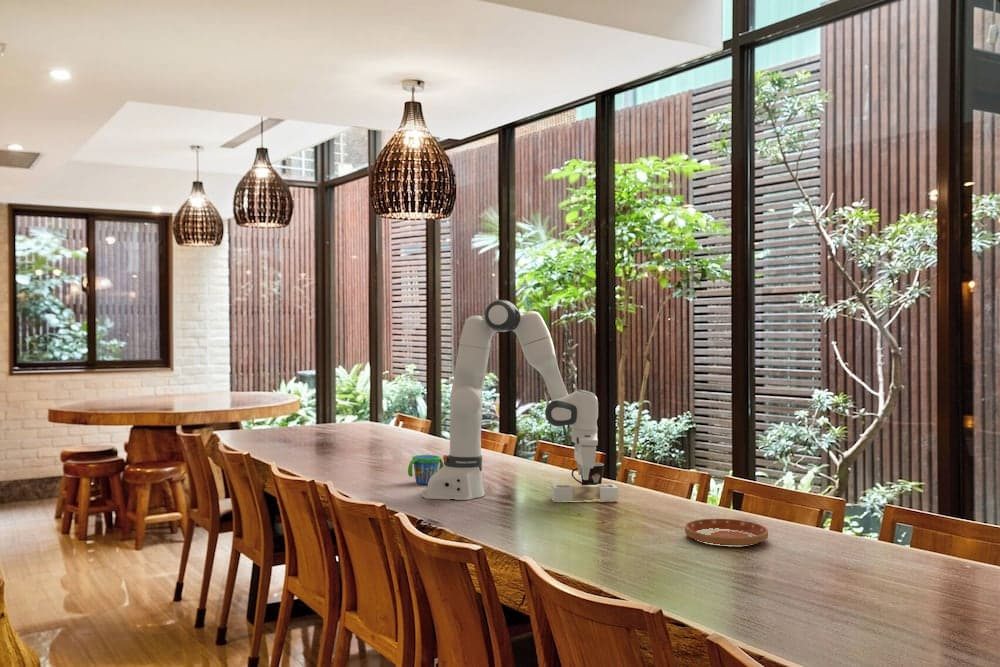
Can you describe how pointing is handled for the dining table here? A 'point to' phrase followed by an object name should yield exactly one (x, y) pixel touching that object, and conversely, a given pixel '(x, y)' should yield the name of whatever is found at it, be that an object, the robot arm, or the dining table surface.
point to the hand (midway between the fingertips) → (583, 477)
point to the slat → (585, 491)
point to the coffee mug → (592, 475)
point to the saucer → (726, 536)
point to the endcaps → (566, 495)
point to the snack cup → (424, 467)
